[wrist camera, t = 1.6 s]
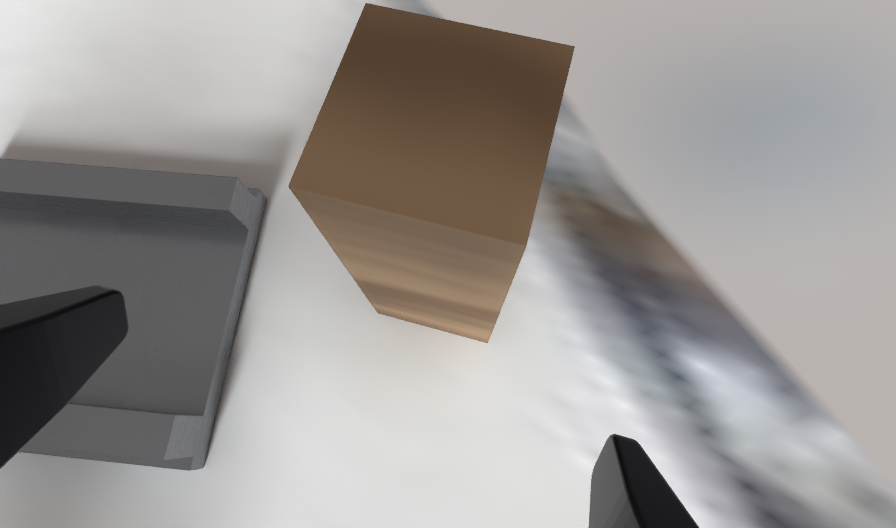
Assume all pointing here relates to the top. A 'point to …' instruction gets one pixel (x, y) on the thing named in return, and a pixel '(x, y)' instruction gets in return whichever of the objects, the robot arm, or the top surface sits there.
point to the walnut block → (433, 163)
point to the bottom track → (135, 297)
